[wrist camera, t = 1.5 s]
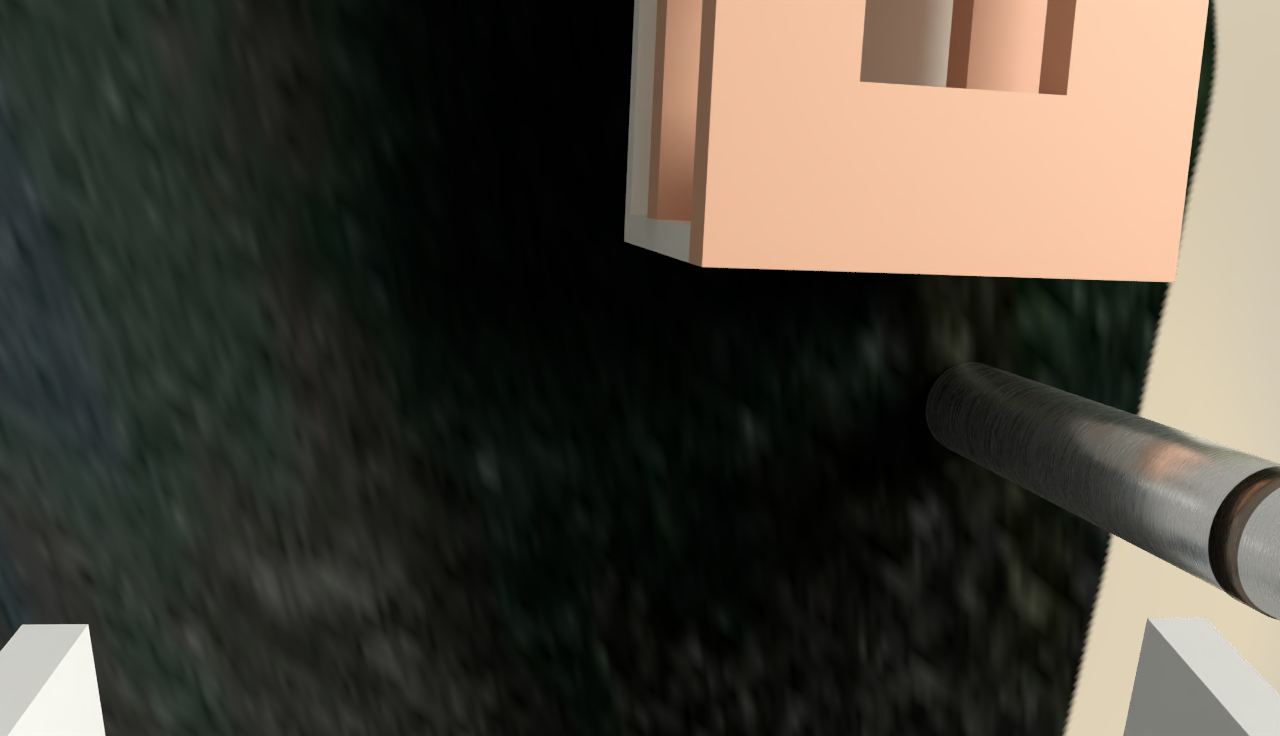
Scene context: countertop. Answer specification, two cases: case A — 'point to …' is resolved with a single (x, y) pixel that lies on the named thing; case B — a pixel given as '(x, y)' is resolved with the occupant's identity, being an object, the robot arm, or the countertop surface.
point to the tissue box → (915, 135)
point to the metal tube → (1122, 475)
